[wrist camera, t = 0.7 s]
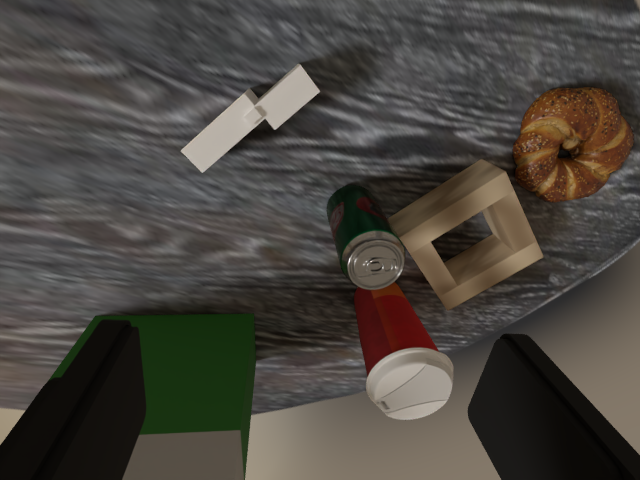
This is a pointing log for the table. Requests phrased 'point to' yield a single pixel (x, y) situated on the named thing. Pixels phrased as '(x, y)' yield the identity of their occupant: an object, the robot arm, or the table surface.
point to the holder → (454, 208)
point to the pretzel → (571, 143)
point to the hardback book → (191, 395)
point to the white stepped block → (251, 117)
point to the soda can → (364, 239)
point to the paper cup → (400, 356)
